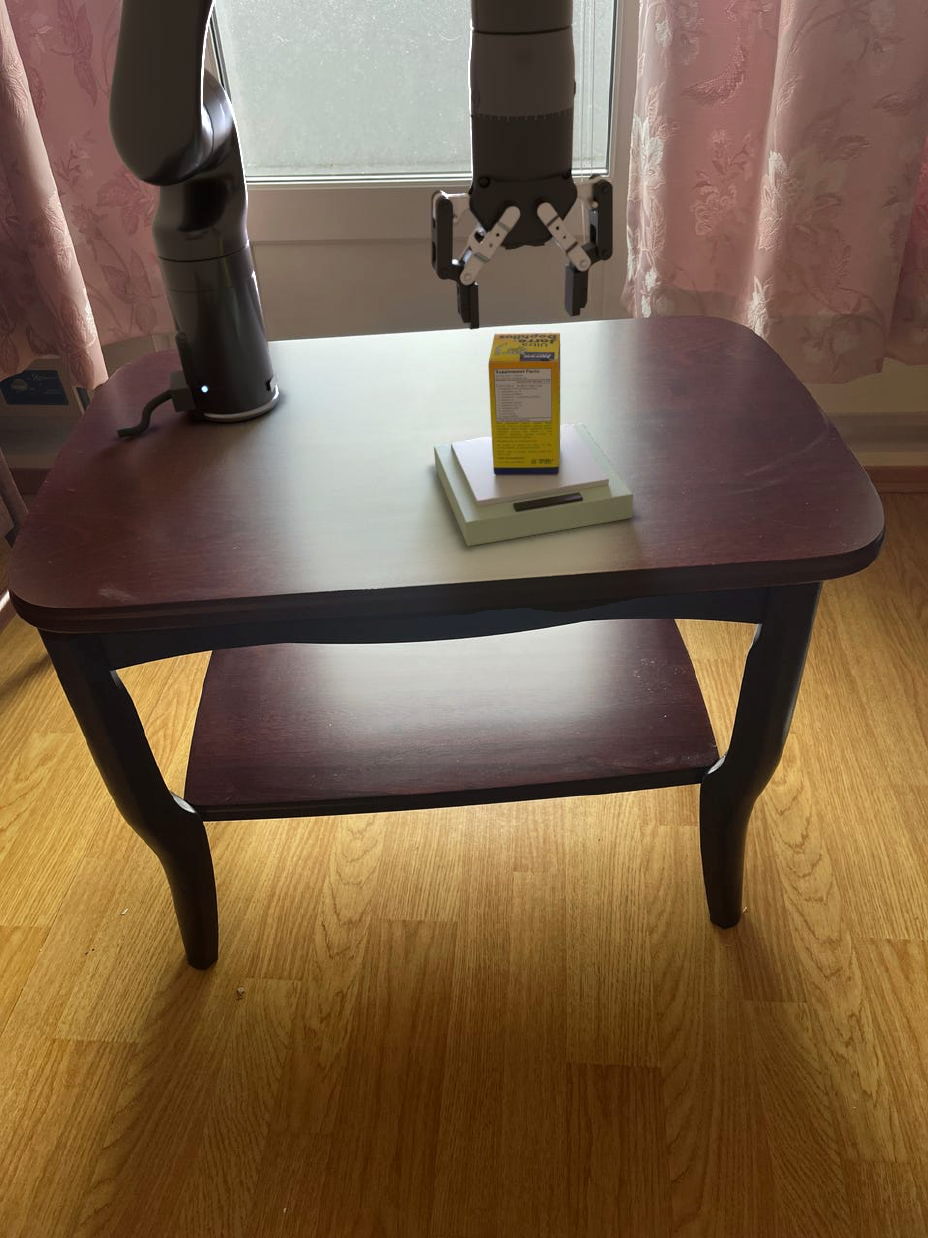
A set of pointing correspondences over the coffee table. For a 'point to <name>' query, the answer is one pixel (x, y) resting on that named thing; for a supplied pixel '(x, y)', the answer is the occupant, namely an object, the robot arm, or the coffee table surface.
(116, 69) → the robot arm
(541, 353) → the supplement box
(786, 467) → the coffee table surface
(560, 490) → the scale
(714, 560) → the coffee table surface
